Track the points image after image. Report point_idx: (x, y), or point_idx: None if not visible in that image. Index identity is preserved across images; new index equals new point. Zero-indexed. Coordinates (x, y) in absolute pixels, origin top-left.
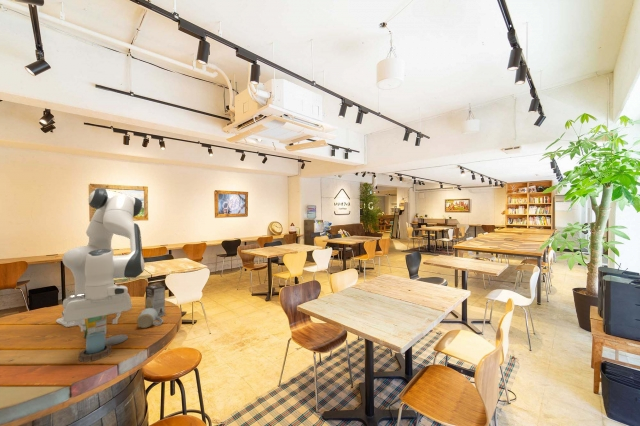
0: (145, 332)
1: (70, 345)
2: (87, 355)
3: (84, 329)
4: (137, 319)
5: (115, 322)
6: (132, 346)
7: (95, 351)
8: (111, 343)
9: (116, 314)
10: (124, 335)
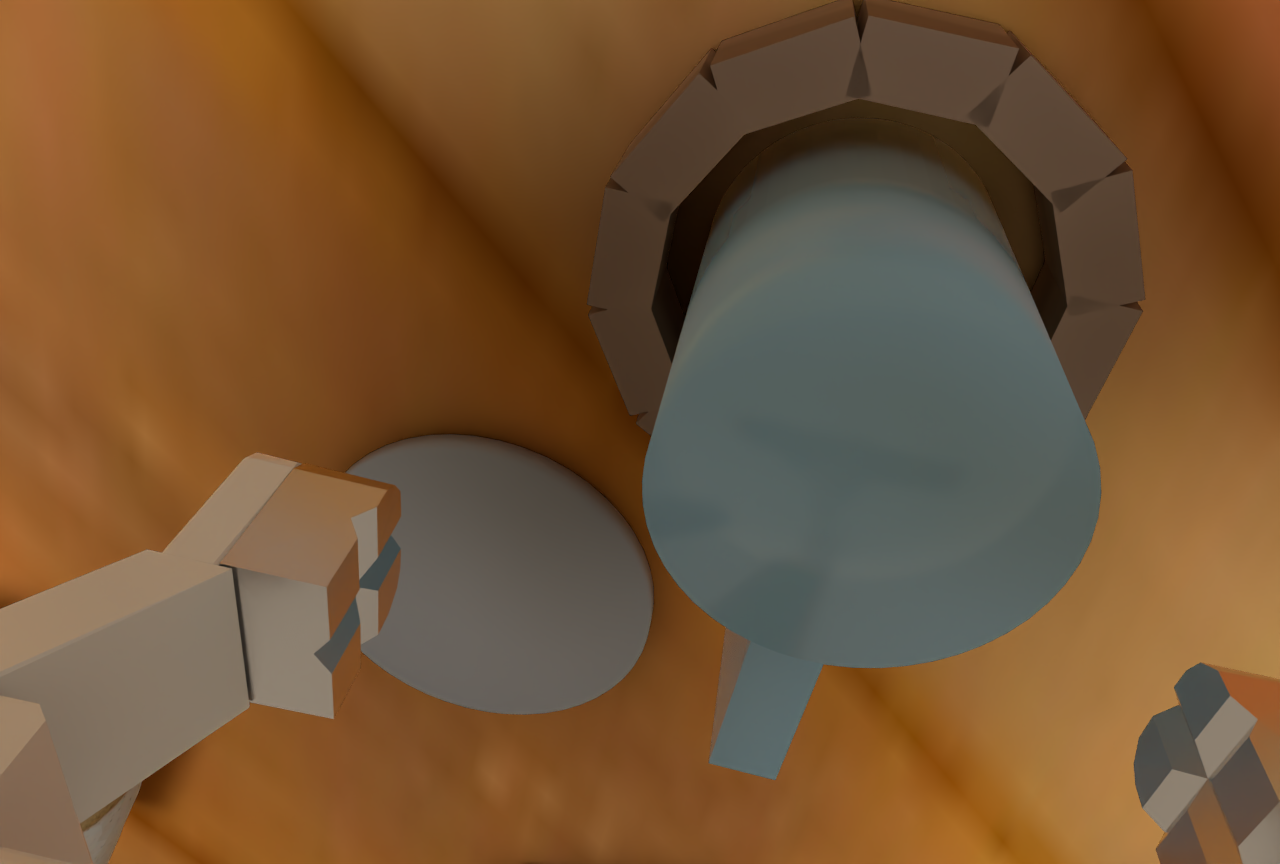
0: (82, 512)
1: (928, 860)
2: (1066, 140)
3: (1273, 708)
4: (90, 824)
5: (288, 494)
6: (280, 95)
7: (909, 166)
8: (546, 484)
9: (43, 777)
10: None
